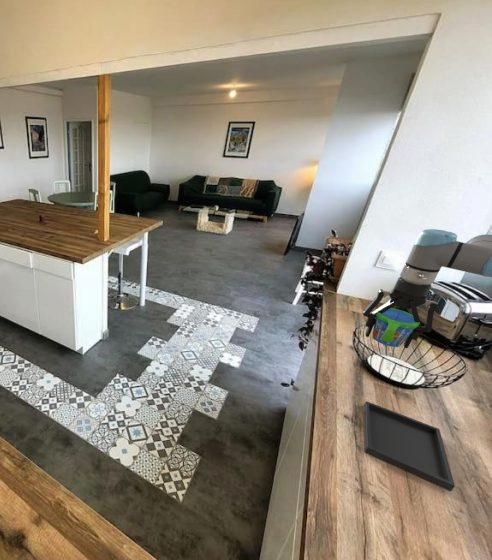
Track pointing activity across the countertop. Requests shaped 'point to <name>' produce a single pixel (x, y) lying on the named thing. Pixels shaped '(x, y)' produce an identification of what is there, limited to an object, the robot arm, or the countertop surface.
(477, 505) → the countertop surface
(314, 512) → the countertop surface
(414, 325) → the snack cup
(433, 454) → the dark grey tray
